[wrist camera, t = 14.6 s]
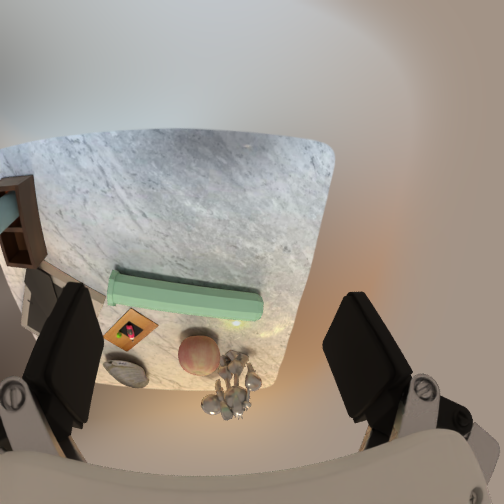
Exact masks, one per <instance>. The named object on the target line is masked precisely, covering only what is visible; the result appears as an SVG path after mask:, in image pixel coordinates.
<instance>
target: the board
mask: <svg viewBox="0 0 504 504" xmlns="http://www.w3.org/2000/svg"><path fill="white" fill-rule="evenodd" d="M156 327H158V325H157V324H156V323H154V322H153V321H151V320H149V319H148V318H146V317H145V316H143V315H141V314H140V313H138V312H137V311H135V310H134V309H132V308H131V309H130V310H129V311H128V312H127V313H126V314H125V315H124V316H123V317H122V318H121V319H120V320H119V321H118V322H117V323H116V324H115V325H114V326H113V327H112V328H111V329H110V330H109V331H108V332H107V333H106V334H105V335H104V336H103V338H104V339H106V340H108V341H109V342H111V343H113V344H114V345H116V346H118V347H120V348H121V349H123V350H125V351H127V352H128V351H129V350H130V349H131V348H132V347H134V346H135V345H136V344H137V343H138V342H140V341H141V340H142V339H143V338H144V337H146V336H147V335H148V334H149V333H150V332H152V331H153V330H154V329H155V328H156Z"/></svg>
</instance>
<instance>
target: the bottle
mask: <svg viewBox="0 0 504 504" xmlns="http://www.w3.org/2000/svg"><path fill="white" fill-rule="evenodd" d="M18 217H19V211H18V206H17V200H16V194H15V191H9V192H8V193H6V194H5V195H3V196H2V197H1V198H0V234H1V233H2V232H3V231H4V230H5V229H6V228H7V227H8V226H9V225H10V224H11V223H12V222H14V221H15V220H16V219H17V218H18Z"/></svg>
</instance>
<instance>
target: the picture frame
mask: <svg viewBox="0 0 504 504" xmlns="http://www.w3.org/2000/svg"><path fill="white" fill-rule="evenodd" d="M69 281H70V282H79V281H77V280H76V279H74V278H72V277H70V276H69V275H67V274H65V273H64V272H62V271H61V270H59V269H57V268H56V267H54V266H52V265H51V264H49V263H48V262H46V261H45V260H43V261H42V263H41V264H40V265H39V267H38V268H37V269H28V268H27V269H26V275H25V281H24V282H25V291H24V299H23V308H22V321H21V326H23V327H24V328H26V329H28V330H29V331H31V332H32V333H34V334H36V335H37V336H39V334H40V332H41V330H42V328H43V326H44V323H45V321H46V320H47V318H48V317H49V316H50V314H51V312H52V310H53V308H54V306H55V304H56V302H57V300H58V298H59V296H60V294H61V293H62V291H63V289H64V287H65V285H66V284H67V282H69ZM80 283H81V282H80ZM84 286H85V287H87V288H88V289H89V292H90V296H91V299H92V303H93V306H94V310H95V313H96V316H97V317H98V315H99V312H100V310H101V308H102V306H103V304H104V301H105V299H106V296H104V295H102V294H100V293H99V292H97V291H95V290H93V289H91V288H90V287H88V286H86V285H84Z"/></svg>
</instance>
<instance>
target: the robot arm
mask: <svg viewBox="0 0 504 504" xmlns="http://www.w3.org/2000/svg"><path fill="white" fill-rule="evenodd" d="M322 345H323V351H324V353H325V356H326V358H327V361H328V363H329V366H330V368H331V371H332V373H333V376H334V378H335V381H336V384H337V386H338V389H339V391H340V394H341V397H342V399H343V401H344V405H345V407H346V410H347V412H348V415H349V416H350V417H351V418H353V420H354V423H358V422H362V421H365V420H367V421H368V424H369V425H368V428H367V431H366V434H365V437H364V439H363V441H362V444H361V447H360V449H359V451H358V452H357V453H354V454H351V455H348V456H344V457H340V458H337V459H333V460H329V461H325V462H321V463H317V464H312V465H307V466H302V467H297V468H292V469H286V470H279V471H272V472H265V473H255V474H246V475H231V476H175V475H174V476H173V475H159V474H150V473H140V472H133V471H126V470H120V469H114V468H109V467H103V466H98V465H93V464H89V463H87V462H86V460H85V458H84V457H83V455H82V454H81V452H80V450H79V449H78V447H77V445H76V444H75V442H74V440H73V439H72V437H71V431H72V427H75V428H79V429H82V428H83V423H86V422H87V420H88V416H89V410H90V404H91V399H92V394H93V389H94V384H95V380H96V375H97V371H98V367H99V363H100V359H101V355H102V351H103V347H104V338H103V335H102V332H101V329H100V326H99V323H98V319H97V316H96V313H95V310H94V306H93V303H92V299H91V296H90V292H89V289H88V288H87V287H85V286H84V284H83V283H80V282H70V281H69V282H67V284H66V285H65V287H64V289H63V291H62V293H61V294H60V296H59V298H58V300H57V302H56V304H55V306H54V308H53V310H52V312H51V314H50V316H49V317H48V318H47V320H46V321H45V323H44V326H43V328H42V330H41V332H40V334H39V337H38V339H37V341H36V344H35V346H34V348H33V351H32V353H31V356H30V358H29V361H28V363H27V366H26V369H25V371H24V374H23V377H22V378H19V377H17V376H10V377H7V378H5V379H4V380H2V382H1V383H0V504H492V501H491V497H490V494H489V491H488V487H487V485H488V483H489V481H490V478H491V476H492V473H493V471H494V468H495V466H496V463H497V460H498V457H499V453H500V447H499V444H498V442H497V441H496V440H495V439H494V438H493V437H491V436H490V435H489V434H488V433H487V432H486V431H485V430H484V429H482V428H481V427H480V426H479V425H478V424H477V423H476V422H474V423H473V419H472V415H471V413H470V412H469V410H468V409H467V408H465V407H464V406H461V405H459V404H457V403H455V402H453V401H451V400H449V399H447V398H444V397H443V396H440V389H439V386H438V384H437V383H436V381H435V380H434V379H433V378H432V377H430V376H429V375H426V374H417V375H415V376H414V377H413V378H412V376H411V374H412V373H413V371H412V369H411V367H410V366H409V364H408V362H407V360H406V359H405V357H404V355H403V354H402V352H401V350H400V348H399V347H398V345H397V343H396V342H395V340H394V338H393V337H392V335H391V333H390V332H389V330H388V329H387V327H386V325H385V324H384V322H383V321H382V319H381V317H380V316H379V314H378V313H377V311H376V310H375V308H374V307H373V305H372V303H371V302H370V300H369V299H368V297H367V296H366V294H365V293H364V292H349V293H348V294H347V296H344V298H343V300H342V302H341V304H340V307H339V309H338V311H337V313H336V315H335V318H334V320H333V322H332V324H331V326H330V328H329V330H328V332H327V334H326V336H325V338H324V340H323V344H322Z"/></svg>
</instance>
